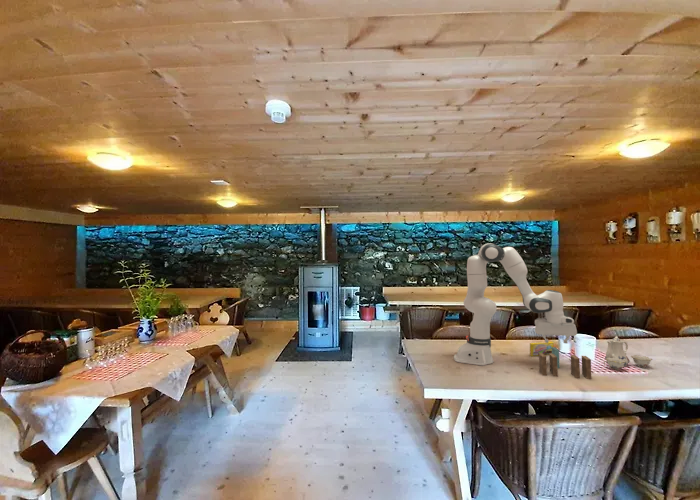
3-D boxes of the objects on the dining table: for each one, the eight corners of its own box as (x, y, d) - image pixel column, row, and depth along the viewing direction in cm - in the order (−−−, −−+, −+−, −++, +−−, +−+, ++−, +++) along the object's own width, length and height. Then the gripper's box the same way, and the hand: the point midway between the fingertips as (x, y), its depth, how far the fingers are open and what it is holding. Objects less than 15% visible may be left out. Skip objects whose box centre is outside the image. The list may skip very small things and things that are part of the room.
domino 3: (575, 377, 164) (574, 358, 165) (571, 373, 170) (570, 355, 170) (580, 378, 164) (579, 358, 164) (575, 374, 170) (574, 355, 170)
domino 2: (553, 376, 167) (552, 356, 168) (549, 372, 173) (549, 353, 173) (557, 376, 167) (557, 357, 167) (554, 372, 173) (553, 353, 173)
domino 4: (586, 378, 163) (586, 359, 163) (582, 374, 169) (581, 355, 169) (591, 379, 162) (590, 359, 163) (586, 375, 168) (585, 356, 168)
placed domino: (555, 367, 179) (555, 350, 180) (552, 364, 185) (551, 347, 185) (559, 368, 179) (559, 350, 179) (556, 364, 184) (555, 347, 185)
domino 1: (542, 375, 169) (542, 356, 169) (539, 371, 175) (538, 352, 175) (546, 375, 168) (546, 356, 168) (543, 371, 174) (543, 353, 174)
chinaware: (619, 376, 170) (621, 346, 168) (588, 363, 186) (590, 335, 184) (656, 370, 177) (659, 341, 176) (623, 358, 193) (625, 331, 192)
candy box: (531, 357, 199) (531, 343, 199) (529, 356, 201) (529, 342, 201) (554, 355, 202) (553, 342, 202) (551, 354, 204) (551, 341, 204)
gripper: (535, 319, 182) (537, 343, 182) (577, 320, 176) (578, 345, 176) (533, 317, 188) (534, 340, 188) (573, 317, 182) (574, 342, 182)
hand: (556, 342), depth 182 cm, fingers open, 8 cm apart
